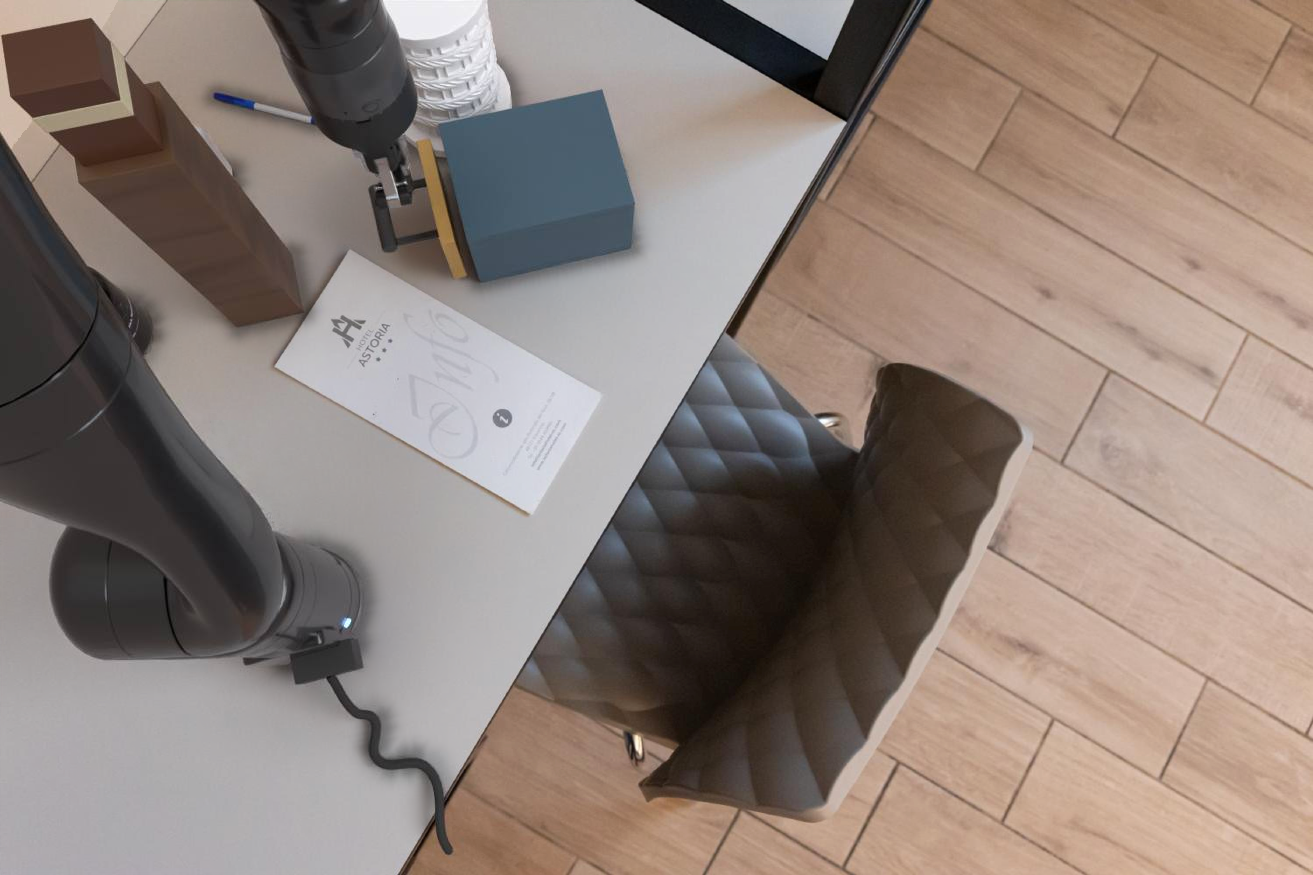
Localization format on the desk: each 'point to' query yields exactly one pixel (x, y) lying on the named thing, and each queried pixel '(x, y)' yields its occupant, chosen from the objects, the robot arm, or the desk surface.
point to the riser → (199, 220)
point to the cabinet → (539, 185)
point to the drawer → (440, 211)
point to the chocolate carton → (81, 91)
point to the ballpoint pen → (262, 107)
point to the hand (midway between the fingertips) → (401, 186)
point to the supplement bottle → (128, 312)
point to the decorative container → (449, 63)
